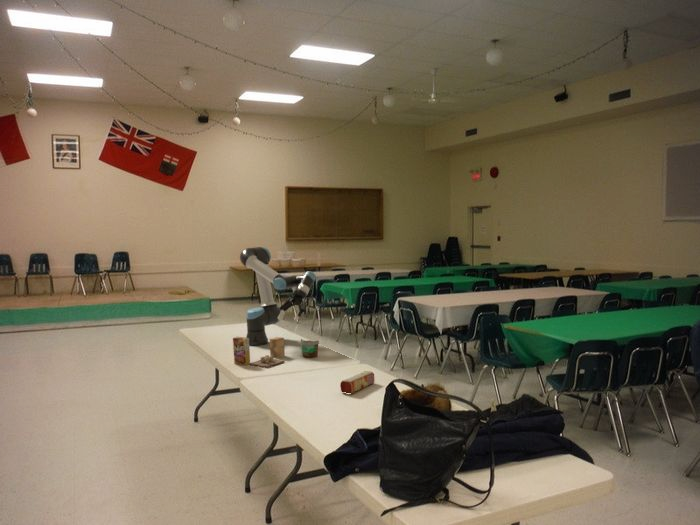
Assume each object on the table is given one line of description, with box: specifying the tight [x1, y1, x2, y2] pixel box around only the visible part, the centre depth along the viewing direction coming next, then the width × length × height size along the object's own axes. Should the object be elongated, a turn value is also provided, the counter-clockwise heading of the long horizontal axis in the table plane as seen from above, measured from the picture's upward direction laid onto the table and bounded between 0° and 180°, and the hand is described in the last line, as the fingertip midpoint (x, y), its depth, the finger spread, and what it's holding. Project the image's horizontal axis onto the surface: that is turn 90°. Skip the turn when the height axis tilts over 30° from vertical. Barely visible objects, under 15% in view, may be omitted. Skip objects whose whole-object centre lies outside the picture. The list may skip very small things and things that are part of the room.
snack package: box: [339, 370, 376, 394], centre depth 261 cm, size 21×7×7 cm, turn 146°
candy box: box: [232, 336, 251, 366], centre depth 315 cm, size 9×4×15 cm, turn 60°
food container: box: [299, 338, 320, 359], centre depth 325 cm, size 12×6×10 cm, turn 62°
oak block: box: [269, 336, 286, 359], centre depth 330 cm, size 6×6×11 cm
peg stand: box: [248, 355, 286, 369], centre depth 313 cm, size 14×14×4 cm
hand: (286, 320), depth 338 cm, fingers open, 13 cm apart
